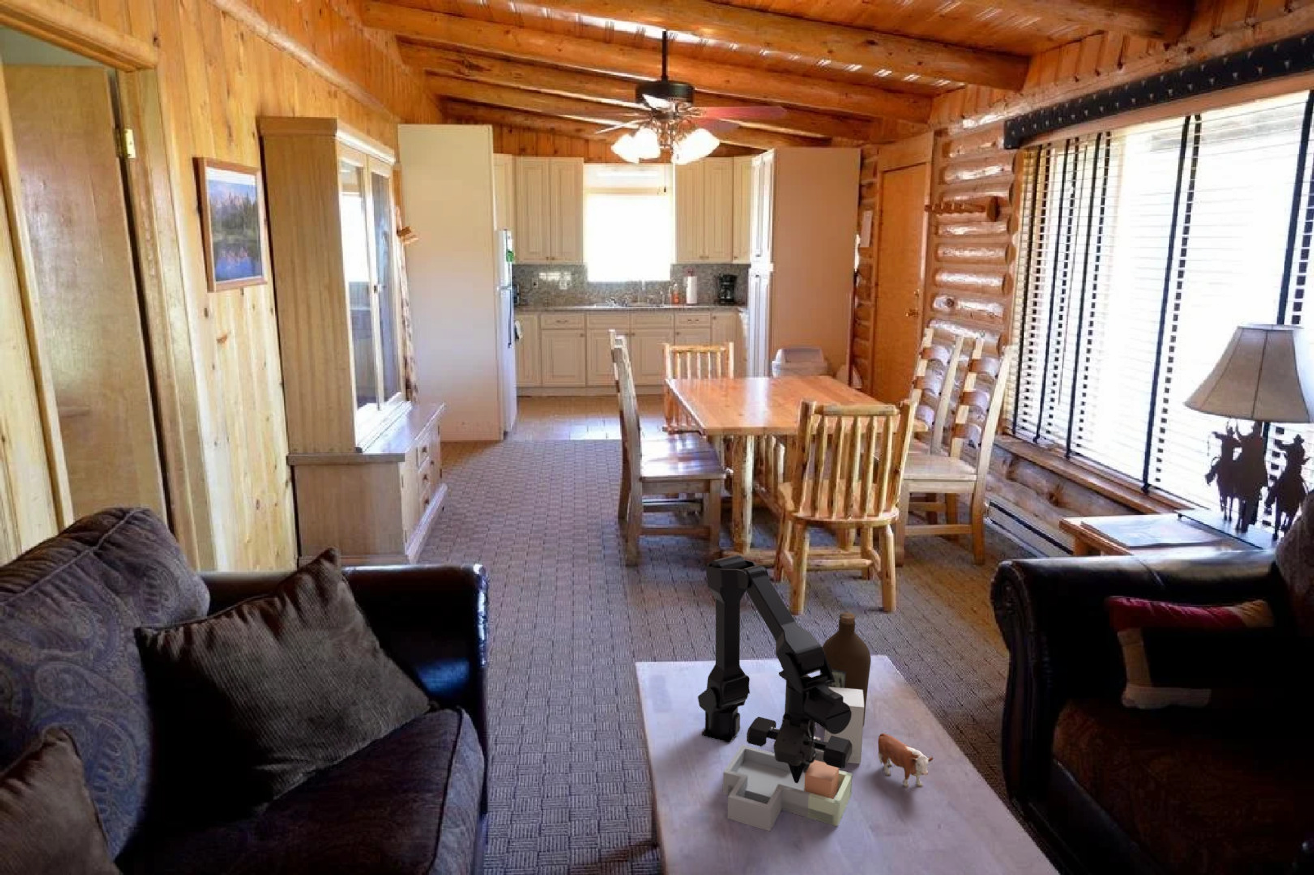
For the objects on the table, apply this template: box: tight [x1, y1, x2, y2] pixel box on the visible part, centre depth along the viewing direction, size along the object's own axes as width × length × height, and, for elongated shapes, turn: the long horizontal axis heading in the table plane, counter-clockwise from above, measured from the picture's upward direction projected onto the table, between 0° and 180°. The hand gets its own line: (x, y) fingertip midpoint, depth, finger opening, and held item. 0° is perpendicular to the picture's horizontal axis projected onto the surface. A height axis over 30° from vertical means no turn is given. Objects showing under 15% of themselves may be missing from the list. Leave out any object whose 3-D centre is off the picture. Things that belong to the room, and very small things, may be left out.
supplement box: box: [823, 687, 864, 765], centre depth 177 cm, size 7×7×13 cm
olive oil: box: [819, 612, 872, 728], centre depth 186 cm, size 11×11×25 cm
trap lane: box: [722, 744, 853, 832], centre depth 165 cm, size 22×23×4 cm
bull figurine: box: [877, 732, 934, 788], centre depth 168 cm, size 4×13×8 cm, turn 27°
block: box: [804, 760, 840, 799], centre depth 161 cm, size 5×5×5 cm
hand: (797, 781), depth 164 cm, fingers closed
